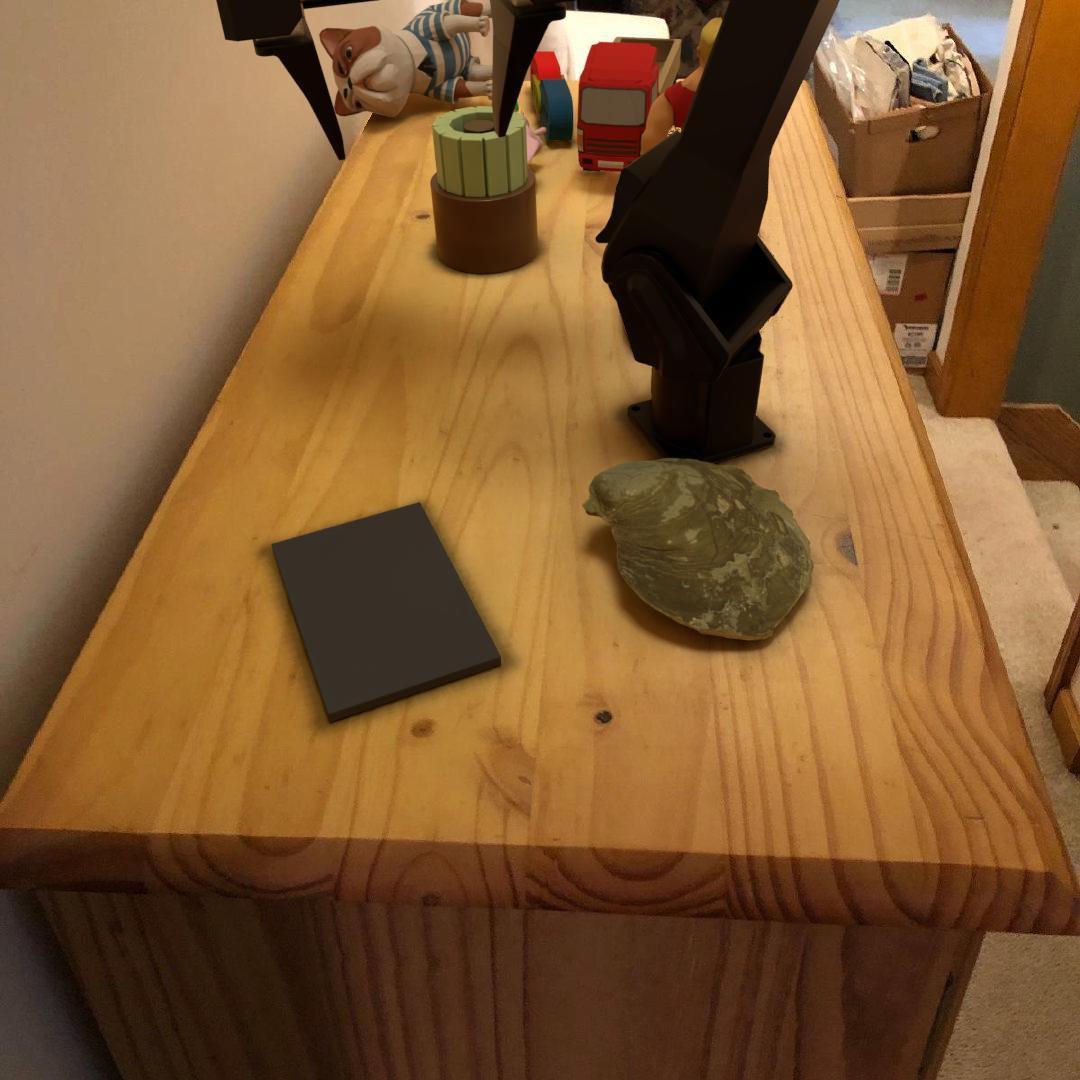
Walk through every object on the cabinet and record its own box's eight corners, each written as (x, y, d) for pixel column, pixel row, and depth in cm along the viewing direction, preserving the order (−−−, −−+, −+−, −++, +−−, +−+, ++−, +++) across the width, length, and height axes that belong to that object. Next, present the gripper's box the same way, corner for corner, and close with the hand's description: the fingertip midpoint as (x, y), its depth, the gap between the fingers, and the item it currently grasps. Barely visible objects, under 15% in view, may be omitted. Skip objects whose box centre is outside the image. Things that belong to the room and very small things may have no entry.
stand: (553, 260, 75) (550, 133, 69) (457, 282, 73) (445, 153, 67) (515, 220, 81) (509, 99, 74) (424, 239, 79) (410, 116, 72)
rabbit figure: (476, 149, 95) (479, 188, 82) (471, 79, 91) (473, 109, 79) (543, 145, 95) (556, 184, 82) (541, 76, 92) (553, 105, 79)
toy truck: (571, 190, 84) (570, 62, 77) (614, 103, 99) (616, -10, 92) (653, 195, 83) (659, 66, 76) (685, 107, 98) (692, -8, 91)
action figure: (762, 221, 79) (787, 12, 69) (761, 242, 76) (787, 27, 66) (640, 216, 80) (648, 9, 70) (635, 236, 78) (643, 24, 68)
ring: (540, 186, 72) (539, 129, 69) (455, 203, 70) (450, 146, 67) (507, 155, 76) (504, 100, 74) (426, 171, 75) (421, 115, 72)
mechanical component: (526, 46, 101) (556, 46, 101) (525, 86, 103) (554, 86, 104) (545, 103, 88) (579, 102, 89) (543, 147, 91) (577, 147, 91)
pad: (501, 665, 46) (501, 656, 46) (330, 722, 44) (328, 714, 44) (421, 509, 54) (419, 501, 54) (273, 552, 52) (270, 543, 52)
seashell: (800, 643, 44) (664, 464, 42) (669, 700, 48) (540, 540, 46) (828, 532, 52) (715, 378, 51) (714, 589, 57) (606, 449, 55)
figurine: (471, 131, 93) (322, 131, 96) (524, 71, 106) (391, 73, 110) (458, 33, 87) (301, 37, 91) (516, -17, 101) (377, -12, 104)
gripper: (530, -220, 55) (541, 82, 65) (176, -191, 52) (248, 121, 62) (592, -199, 47) (594, 142, 57) (178, -163, 44) (259, 191, 54)
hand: (421, 146), depth 58 cm, fingers open, 9 cm apart
